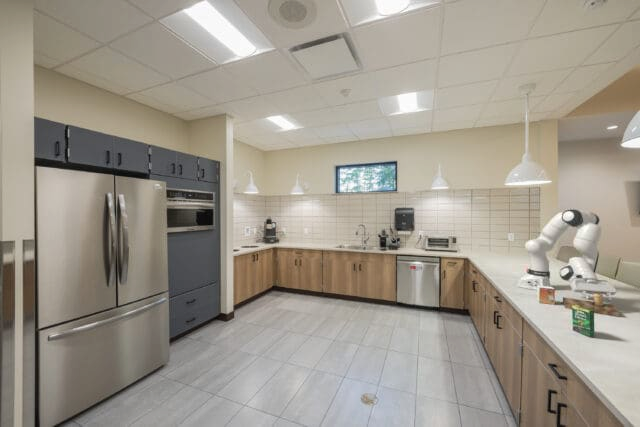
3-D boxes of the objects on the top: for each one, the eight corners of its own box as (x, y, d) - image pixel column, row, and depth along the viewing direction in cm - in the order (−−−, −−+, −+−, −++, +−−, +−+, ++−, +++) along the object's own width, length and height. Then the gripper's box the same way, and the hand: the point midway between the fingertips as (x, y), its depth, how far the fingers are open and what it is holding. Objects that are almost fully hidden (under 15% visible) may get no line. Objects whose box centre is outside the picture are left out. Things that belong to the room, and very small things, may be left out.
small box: (538, 303, 166) (539, 287, 166) (536, 300, 171) (536, 284, 171) (555, 305, 162) (555, 288, 162) (551, 302, 167) (551, 286, 167)
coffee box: (571, 329, 129) (571, 304, 129) (576, 329, 129) (576, 304, 129) (589, 337, 121) (589, 310, 121) (594, 337, 121) (595, 310, 121)
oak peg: (594, 311, 152) (594, 294, 152) (593, 309, 155) (593, 293, 155) (603, 312, 150) (603, 296, 149) (602, 310, 153) (602, 294, 152)
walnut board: (565, 308, 157) (565, 302, 157) (562, 302, 166) (562, 297, 166) (618, 317, 143) (619, 311, 143) (612, 310, 153) (612, 304, 153)
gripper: (606, 283, 160) (618, 303, 150) (566, 280, 166) (575, 300, 157) (611, 278, 155) (625, 299, 146) (570, 275, 162) (580, 295, 153)
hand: (599, 299), depth 152 cm, fingers open, 8 cm apart
